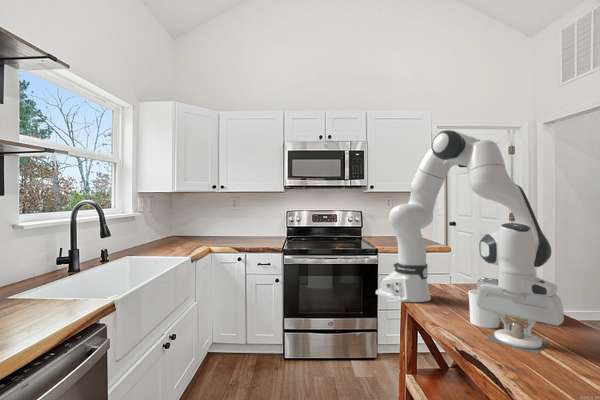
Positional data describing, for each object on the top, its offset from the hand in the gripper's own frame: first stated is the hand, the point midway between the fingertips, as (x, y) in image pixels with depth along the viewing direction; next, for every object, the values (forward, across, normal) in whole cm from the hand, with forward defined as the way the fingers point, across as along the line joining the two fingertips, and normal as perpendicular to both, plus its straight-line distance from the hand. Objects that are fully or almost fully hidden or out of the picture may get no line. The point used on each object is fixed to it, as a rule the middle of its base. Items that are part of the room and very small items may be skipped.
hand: (517, 332), depth 91 cm
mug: (+3, -12, +8) cm, 15 cm away
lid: (+2, 0, 0) cm, 2 cm away
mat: (+3, 0, 0) cm, 3 cm away
